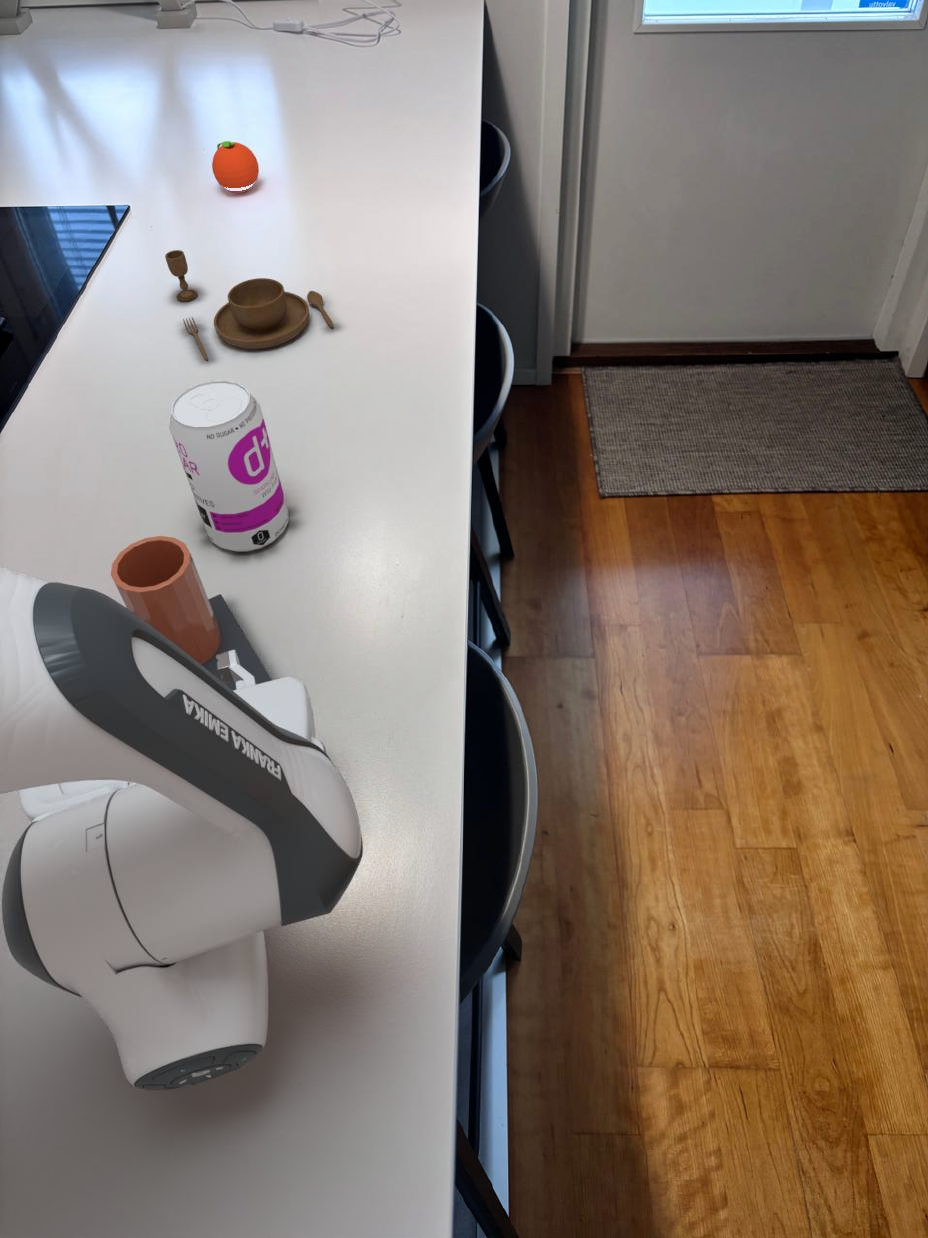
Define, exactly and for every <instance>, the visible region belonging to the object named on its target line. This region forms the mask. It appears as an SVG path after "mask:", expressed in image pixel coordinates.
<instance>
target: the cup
mask: <svg viewBox="0 0 928 1238" xmlns="http://www.w3.org/2000/svg"><path fill="white" fill-rule="evenodd" d="M197 569H198V568H197V567H196V564H195V561H194V558H193V556H192V553H191V551H190V550H189V548H188V546H187V544H186V543H185V542H183V541H181V540H180V539H177V538H176V537H173V536H167V535H166V536H165V535H156V536H150V537H146V538H143V539H140V540H137V541H135V542H133V543H131V544H129V545H128V546H126V547H125V548H123V550H121V551H120V552H119V553H118V554H117V556H116V557H115V559H114V560H113V562H112V564H111V570H110V577H111V579H112V580H113V582H114V584H115V586H116V589H117V591H118V593H119V595H120V597H121V599H122V601H123V603H124V606H125V607H126V608H127V609H129V610H130V611H132V612H133V613H134V614H136V615H137V616H138V617H140V618H141V619H143V620H144V621H145V622H147V623H148V624H149V625H151V626H152V627H153V628H155V629H156V630H157V631H159V632H160V633H161V634H162V635H164V636H165V637H166V638H168V639H169V640H170V641H171V642H173V643H174V644H175V645H177V646H178V647H179V648H180V649H182V650H183V651H184V652H185V653H187V654H188V655H189V656H190V657H192V658H193V659H194V660H195V661H197V662H198V663H199V664H200V665H203V664H204V663H206V662H207V661H208V660H210V659H211V658H212V657H213V656H214V654H215V653H216V652H217V650H218V648H219V646H220V643H221V633H220V630H219V626H218V623H217V621H216V618H215V615H214V613H213V610H212V608H211V605H210V602H209V600H208V599H209V597H208V595H207V593H206V590H205V587H204V584H203V582H202V579H201V577H200V574H199V572H198V570H197Z"/></svg>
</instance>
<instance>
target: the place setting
mask: <svg viewBox="0 0 928 1238" xmlns="http://www.w3.org/2000/svg"><path fill="white" fill-rule="evenodd" d="M164 257H165V261H166V264H167V267H168V270H169V272H170V273H171V275H172V276H174V277H177V278H178V280H179V288H180V289H181V290H182V291H180V292H178V293H177V295H176V300H177V301H178V302H181V303H188V302H192V301H194V300H195V299H197V297H198V294H199V293H198V292H197V290H194V289H188V288H189V284H188V282H187V281H186V277H185V276H186V274H187V273H188V271H189V267H188V262H187V258H186V255H185V252H184V251H183V250H181V249H175V250H171V251H168V252H167V253H165V255H164ZM323 299H324V298H323V296H322V295H321V294H320V293H319V292H317V291H314V290H309V292H307V294H306V300H307V301H308V302H309V303H310V304H311V305H312V306H315V307H317V308H318V310H319V311H320V313H321V314H322V316H323V319H324V320H325V322H326V324H327V325H328V326H329V327H330V328H333V327H334V323H333V321H332V319H331V317H330V316H329V314H328V313H327V311H326V310H325V309H324V307H323V305H322V304H323ZM306 300H305V298H302V297H301V296H300V295H298V294H295V293H293V292H289V291H285V287H284V285H283V284H282V283H281V282H279V281H278V280H275V279H272V278H267V277H266V278H265V277H259V278H258V277H257V278H251V279H248V280H244V281H241V282H239V283H238V284H236V285H234V286H233V287H232V288H230V290H229V292H228V294H227V301H228V302H226V303H225V304H224V305H222V307H220V308H219V310H218V311H217V312H216V314H215V315H214V317H213V327H214V330H215V333H216V334H217V335H218V337H219V338H220V339H221V340H222V341H224V342H226V343H227V344H229V345H230V346H234V347H237V348H241V349H248V350H258V349H267V348H272V347H276V346H278V345H282V344H285V343H286V342H288V341H291V340H292V339H293V338H295V337H296V336H298V335H299V334H300V333H301V332H302V331H303V330H304V329H305V327H306V326H307V323H308V321H309V318H310V309H309V305H308V303H307V301H306ZM182 321H183V324H184V327H185V329H186V331H187V333H188V334H189V335H192V336H193V338H194V341H195V342H196V345H197V347H198V349H199V351H200V353H201V355H202V357H203V359H204V360H205V361H208V360H209V358H208V355H207V352H206V350H205V348H204V346H203V343H202V341H201V339H200V338H199V335H198V334H197V333H198V331H199V329H198V326H197V323H196V321H195V319H194V317H193V316H191V318H190V317H188V319H187V318H185V319H184V318H183V319H182ZM190 325H191V326H190Z"/></svg>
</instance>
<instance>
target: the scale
mask: <svg viewBox="0 0 928 1238" xmlns="http://www.w3.org/2000/svg"><path fill="white" fill-rule="evenodd" d="M208 600H209V602H210V605H211V608H212V610H213V613H214V615H215V618H216V621H217V623H218V626H219V630H220V633H221V643H220V646H219V648H218V650H217V652H216V653H215V654H214V656H213V657H212V658H211V659H210V660H208V661H207V662H206V663H204V664H203V665H202V666H203V667H204V668H205V669H207V670H208V671H209V672H210V673H211V674H213V675H214V676H215V677H216V678H218V679H219V680H220V681H221V682H223V681H222V679H221V675H220V674H219V671H218V668H217V659H216V654H219V653H223V652H227V651H231V650H235V651H236V653H237V656H238V659H239V662H240V666H241V667H243V668H244V669H245V670H246V671H248V672H249V673H250V674H251V675H252V676H254V678H255V681H256V684H260V683H264V682H268V681H272V680H273V679H272V678H271V677H270V675H269V673H268V671H267V670H266V668H265V667H264V665H263V663H262V662H261V660H260V658H259V656H258V655H257V653H256V651H255V650H254V648H253V646H252V645H251V642H250V641H249V639H248V637H247V636H246V634H245V632H244V631H243V629H242V627H241V625H240V624H239V622H238V621H237V618H236V617H235V616H234V614H233V612H232V610H231V608H230V607H229V605H228V604H227V601H226V600H225V598H224V597H223V594H221V593H220V594H217V595H215V596H212V597H210V598H208ZM224 684H225V685H226V686H228V687H229V688H230V689H231V690H232V691H233V690H236V683H235V682H234V681H233V682H229V683H224Z"/></svg>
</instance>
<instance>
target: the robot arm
mask: <svg viewBox="0 0 928 1238" xmlns="http://www.w3.org/2000/svg"><path fill="white" fill-rule="evenodd" d="M216 659H217V668H218V671H219V674H220V675H221V679H222V681H223V682H221V681H220V680H219V679H218V678H216V677H215V676H214V675H213V674H211V673H210V672H209V671H208V670H207V669H205V668H204V667H203V666H202V665H200V664H199V663H198V662H197V661H195V660H194V659H193V658H192V657H190V656H189V655H188V654H187V653H185V652H184V651H183V650H182V649H180V648H179V647H178V646H177V645H175V644H174V643H173V642H171V641H170V640H169V639H168V638H166V637H165V636H164V635H162V634H161V633H160V632H159V631H157V630H156V629H155V628H153V627H152V626H151V625H149V624H148V623H147V622H145V621H144V620H143V619H141V618H140V617H138V616H137V615H136V614H134V613H133V612H132V611H130V610H129V609H127V607H126V606H125V605H123V604H122V603H120V602H119V601H117V600H116V599H114V598H112V597H110V596H109V595H107V594H105V593H103V592H101V591H99V590H96V589H92V588H87V587H82V586H77V585H72V584H68V583H62V582H58V581H57V582H56V581H55V582H53V581H48V580H44V579H41V578H37V577H34V576H31V575H27V574H26V573H25V574H24V573H21V572H18V571H16V570H13V569H10V568H8V567H5V566H2V565H0V795H2V794H8V793H13V792H17V791H18V797H19V803H20V806H21V810H22V811H23V813H24V814H25V817H27V819H28V820H29V821H30V824H29V825H28V826H27V827H26V828H25V830H24V831H23V833H22V834H21V836H20V838H18V840H17V842H16V843H15V846H14V848H13V850H12V853H11V855H10V857H9V859H8V860H9V861H8V863H7V867H6V870H5V874H4V880H3V885H2V893H1V916H2V925H3V931H4V936H5V940H6V943H7V946H8V950H9V952H10V954H11V956H12V958H13V959H14V960H15V962H16V963H17V964H18V965H19V966H21V967H22V968H23V969H24V970H25V971H27V972H29V973H30V974H31V975H33V976H35V977H36V978H37V979H39V980H41V981H43V982H45V983H47V984H49V985H51V986H53V987H55V988H57V989H60V990H62V991H64V992H67V993H69V994H72V995H74V996H77V997H79V998H82V999H84V1000H85V1001H86V1003H88V1005H89V1006H90V1007H91V1008H92V1009H93V1011H95V1012H96V1014H97V1015H98V1016H99V1017H100V1019H101V1020H102V1021H103V1022H104V1024H105V1025H106V1026H107V1028H108V1029H109V1032H110V1033H111V1035H112V1037H113V1039H114V1042H115V1045H116V1048H117V1051H118V1055H119V1059H120V1063H121V1066H122V1070H123V1073H124V1076H125V1078H126V1080H127V1081H128V1082H129V1083H130V1084H131V1086H134V1087H135V1088H138V1089H141V1090H146V1091H148V1092H149V1091H150V1092H162V1091H173V1090H178V1089H180V1088H185V1087H189V1086H195V1085H198V1084H201V1083H204V1082H207V1081H209V1080H212V1079H215V1078H218V1077H221V1076H223V1075H226V1074H228V1073H231V1072H234V1071H236V1070H238V1069H240V1068H241V1067H243V1066H245V1064H246V1065H247V1064H248V1063H249V1062H250V1061H251V1062H252V1060H254V1058H255V1057H256V1056H257V1055H258V1054H259V1053H260V1052H261V1051H262V1050H263V1049H264V1048H265V1046H266V1042H267V1037H268V1027H269V974H268V959H267V949H266V939H265V931H267V930H269V929H272V928H275V927H278V926H280V927H286V926H289V925H292V924H293V925H294V924H296V923H300V922H305V921H307V920H312V919H315V918H318V917H322V916H325V915H326V916H327V915H329V914H331V913H332V912H333V910H334V909H335V907H336V906H337V905H338V903H339V902H340V901H341V898H342V897H343V896H344V894H345V893H346V892H347V889H348V887H349V886H350V884H351V883H352V881H353V879H354V877H355V874H356V872H357V870H358V868H359V866H360V864H361V861H362V858H363V854H364V844H363V843H364V842H363V835H362V830H361V822H360V817H359V814H358V808H357V806H356V802H355V800H354V797H353V795H352V792H351V790H350V788H349V785H348V784H347V781H346V779H345V777H344V776H343V775H342V773H341V772H340V770H339V769H338V768H337V766H336V765H335V764H334V763H333V760H332V759H331V758H330V757H329V755H328V754H327V749H326V747H325V745H324V743H323V742H322V741H321V740H320V739H319V738H317V737H316V735H317V734H316V724H315V723H316V722H315V717H314V709H313V706H312V703H311V702H312V701H311V698H310V694H309V691H308V689H307V686H306V683H304V682H303V681H301V680H299V679H298V678H296V677H294V676H290V675H289V676H284V677H280V678H276V679H271V680H272V681H268V682H264V683H260V684H256V681H255V678H254V676H252V675H251V674H250V673H249V672H248V671H246V670H245V669H244V668H243V667H241V666H240V662H239V659H238V656H237V653H236V651H235V650H231V651H227V652H223V653H219V654H216ZM233 681H234V682H235V683H236V690H233V691H232V690H231V689H230V688H229V687H228V686H226V685H225V684H224V683H229V682H233Z"/></svg>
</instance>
